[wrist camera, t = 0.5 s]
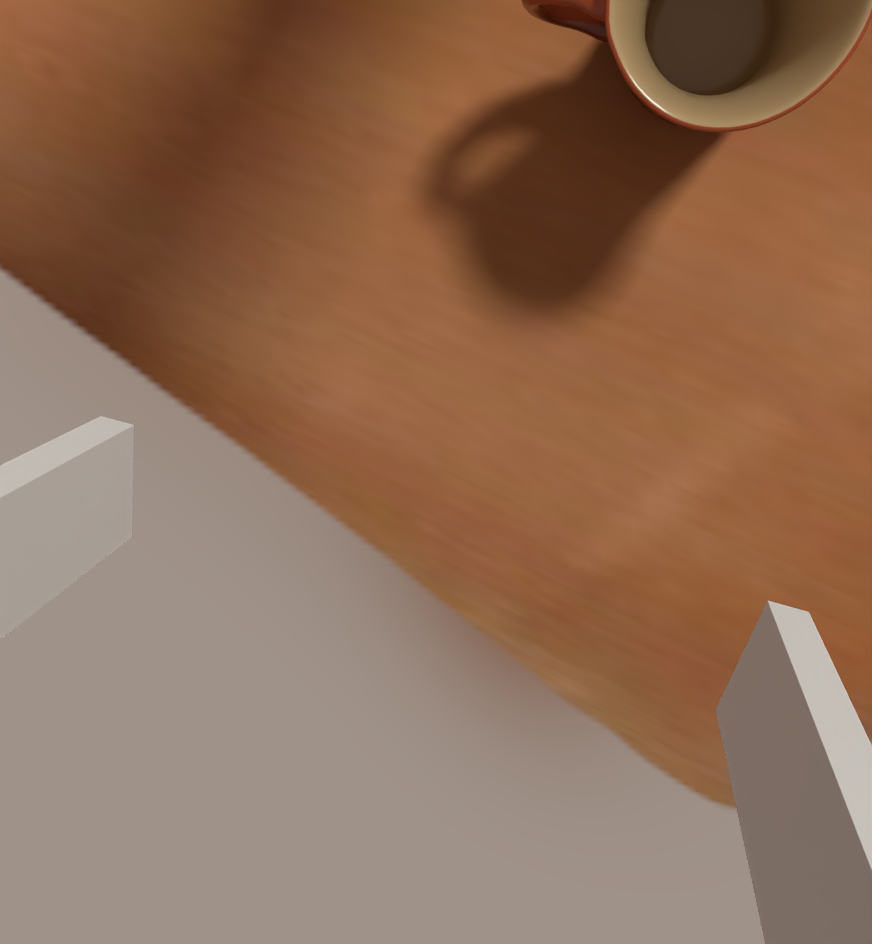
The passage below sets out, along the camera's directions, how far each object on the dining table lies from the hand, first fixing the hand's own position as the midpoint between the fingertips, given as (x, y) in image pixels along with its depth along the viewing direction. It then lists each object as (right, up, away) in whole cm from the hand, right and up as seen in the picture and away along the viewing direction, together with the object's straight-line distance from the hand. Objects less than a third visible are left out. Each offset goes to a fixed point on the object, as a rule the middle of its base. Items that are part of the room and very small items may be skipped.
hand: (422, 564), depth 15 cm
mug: (+11, +22, +19) cm, 31 cm away
